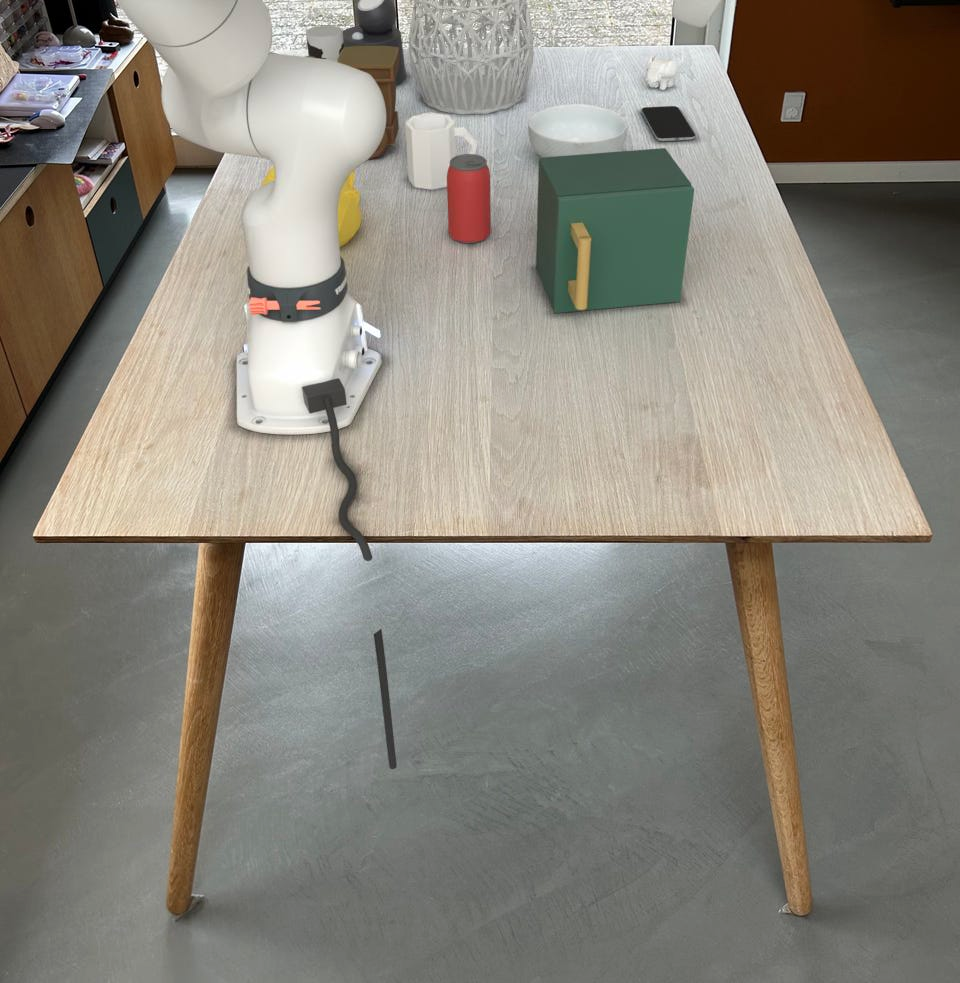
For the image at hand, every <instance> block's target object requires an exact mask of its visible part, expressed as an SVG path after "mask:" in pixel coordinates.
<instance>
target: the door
mask: <svg viewBox="0 0 960 983" xmlns="http://www.w3.org/2000/svg"><path fill="white" fill-rule="evenodd" d="M694 195H695V188H694V187H693V185H691V186H686V187H674V188H661V189H649V190H637V191H624V192H612V193H600V194H588V195H575V196H563V197H558V200H557V226H556V252H555V279H554V305H553V308H552V311H553V312H554V314H562V313H571V312H583V311H592V310H593V311H595V310H604V309H615V308H624V307H625V308H626V307H635V306H647V305H648V306H649V305H657V304H658V305H659V304H667V303H668V304H669V303H678V302H681V297H682V289H683V280H684V274H685V265H686V257H687V251H688V241H689V234H690V226H691V219H692V212H693V211H692V210H693V203H694Z"/></svg>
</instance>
